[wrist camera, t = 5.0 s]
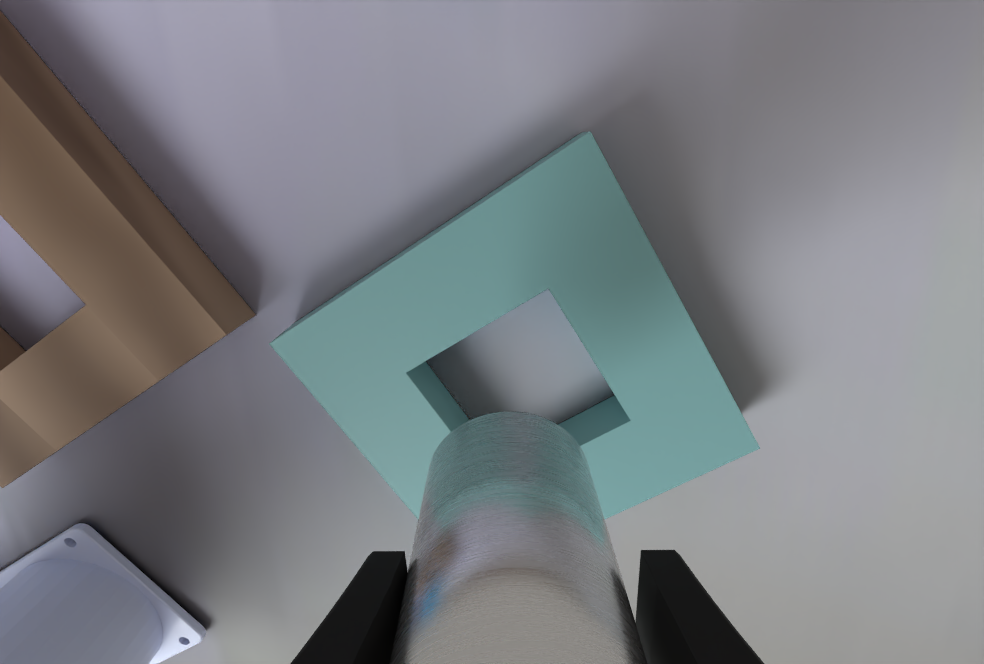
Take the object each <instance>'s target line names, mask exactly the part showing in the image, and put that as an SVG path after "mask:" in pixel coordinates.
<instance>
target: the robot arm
mask: <svg viewBox="0 0 984 664" xmlns="http://www.w3.org/2000/svg"><path fill="white" fill-rule="evenodd" d="M407 574H408V572H407V565H406V558H405V551H373V552H372V553H371V554H370V555H369V556H368V557H367V559H366V560H365V562H364V563H363V565H362V566H361V568H360V569H359V571H358V572H357V574H356V575H355V577H354V578H353V580H352V581H351V582H350V584H349V585H348V587H347V588H346V590H345V591H344V592H343V594H342V595H341V597H340V598H339V600H338V601H337V602H336V604H335V605H334V607H333V608H332V609H331V611H330V612H329V613H328V615H327V616H326V618H325V619H324V620H323V622H322V623H321V624H320V626H319V627H318V628H317V630H316V631H315V632H314V634H313V635H312V636H311V637H310V639H309V640H308V641H307V643H306V644H305V645H304V647H303V648H302V649H301V651H300V652H299V653H298V655H297V656H296V657H295V659H294V660H293V661H292V662H291V664H390V659H391V654H392V649H393V644H394V639H395V634H396V629H397V624H398V619H399V614H400V609H401V604H402V599H403V594H404V589H405V584H406V579H407ZM636 627H637V630H638V634H639V637H640V640H641V644H642V647H643V651H644V654H645V657H646V661H647V664H764V663H763V662H762V660H761V659H760V658H759V657H758V656H757V654H756V653H755V652H754V651H753V650H752V648H751V647H750V646H749V645H748V643H747V642H746V641H745V640H744V639H743V637H742V636H741V635H740V634H739V633H738V631H737V630H736V629H735V628H734V626H733V625H732V624H731V623H730V621H729V620H728V619H727V617H726V616H725V615H724V614H723V612H722V611H721V610H720V608H719V607H718V606H717V605H716V603H715V602H714V601H713V599H712V598H711V597H710V595H709V594H708V593H707V591H706V590H705V589H704V587H703V586H702V585H701V583H700V582H699V581H698V579H697V578H696V577H695V575H694V574H693V573H692V571H691V570H690V568H689V567H688V566H687V564H686V563H685V562H684V560H683V559H682V557H681V556H680V555H679V554H678V553H677V552H676V551H675V550H641V558H640V571H639V584H638V597H637V611H636ZM205 635H206V630H205V628H204V627H203V626H202V625H201V624H200V623H199V622H198V621H197V620H195V619H194V618H193V617H192V616H191V615H190V614H189V613H188V612H186V611H185V610H184V609H183V608H182V607H181V606H180V605H179V604H177V603H176V602H175V601H174V600H173V599H172V598H171V597H170V596H168V595H167V594H166V593H165V592H164V591H163V590H162V589H161V588H159V587H158V586H157V585H156V584H155V583H154V582H153V581H152V580H150V579H149V578H148V577H147V576H146V575H145V574H144V573H143V572H141V571H140V570H139V569H138V568H137V567H136V566H135V565H134V564H132V563H131V562H130V561H129V560H128V559H127V558H126V557H125V556H123V555H122V554H121V553H120V552H119V551H118V550H117V549H116V548H114V547H113V546H112V545H111V544H110V543H109V542H108V541H107V540H106V539H104V538H103V537H102V536H101V535H100V534H99V533H98V532H97V531H95V530H94V529H93V528H92V527H91V526H89V525H87V524H83V523H78V524H76V525H74V526H72V527H71V528H69V529H67V530H66V531H64V532H63V533H61V534H59V535H58V536H56V537H55V538H53V539H51V540H50V541H48V542H47V543H45V544H43V545H42V546H40V547H39V548H37V549H35V550H34V551H32V552H31V553H29V554H27V555H26V556H24V557H23V558H21V559H19V560H18V561H16V562H15V563H13V564H11V565H10V566H8V567H7V568H5V569H3V570H2V571H0V664H158V663H160V662H162V661H164V660H166V659H168V658H170V657H172V656H174V655H176V654H178V653H180V652H182V651H184V650H186V649H188V648H190V647H192V646H194V645H196V644H198V643H200V642H201V641H202V640H203V638H204V636H205Z"/></svg>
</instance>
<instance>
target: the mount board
mask: <svg viewBox="0 0 984 664" xmlns="http://www.w3.org/2000/svg"><path fill="white" fill-rule="evenodd" d="M0 215H1V216H2V217H3V218H4V219H5V220H6V221H7V222H8V223H9V225H10V226H11V227H12V228H13V229H14V230H15V231H16V232H17V233H18V234H19V235H20V236H21V237H22V238H23V239H24V240H25V241H26V242H27V243H28V244H29V246H30V247H31V248H32V249H33V250H34V251H35V252H36V253H37V254H38V255H39V256H40V257H41V258H42V259H43V260H44V261H45V262H46V263H47V264H48V265H49V267H50V268H51V269H52V270H53V271H54V272H55V273H56V274H57V275H58V276H59V277H60V278H61V279H62V280H63V281H64V282H65V283H66V284H67V285H68V286H69V287H70V289H71V290H72V291H73V292H74V293H75V294H76V295H77V296H78V297H79V298H80V299H81V300H82V301H83V302H84V303H85V304H86V305H85V306H84V307H83V308H81V309H80V310H79V311H77V312H76V313H75V314H74V315H72V316H71V317H70V318H68V319H67V320H66V321H65V322H63V323H62V324H61V325H59V326H58V327H57V328H55V329H54V330H53V331H52V332H50V333H49V334H48V335H46V336H45V337H44V338H43V339H41V340H40V341H39V342H37V343H36V344H35V345H33V346H32V347H31V348H30V349H28V350H27V351H25V350H24V349H23V348H22V347H21V346H20V345H19V344H18V343H17V342H16V341H15V340H14V339H13V338H12V337H11V336H9V335H8V334H7V333H6V332H5V331H4V330H3V329H2V328H1V327H0V486H1V487H2V488H3V487H5V486H6V485H8V484H9V483H11V482H12V481H14V480H15V479H17V478H18V477H20V476H21V475H23V474H24V473H26V472H27V471H29V470H30V469H32V468H33V467H35V466H36V465H38V464H39V463H41V462H42V461H43V460H45V459H46V458H48V457H49V456H51V455H52V454H54V453H55V452H57V451H58V450H60V449H61V448H63V447H64V446H65V445H67V444H68V443H70V442H71V441H73V440H74V439H76V438H77V437H79V436H80V435H82V434H83V433H84V432H86V431H87V430H89V429H90V428H92V427H93V426H95V425H96V424H98V423H99V422H101V421H102V420H103V419H105V418H106V417H108V416H109V415H111V414H112V413H114V412H115V411H117V410H118V409H119V408H121V407H122V406H124V405H125V404H127V403H128V402H130V401H131V400H133V399H134V398H136V397H137V396H138V395H140V394H141V393H143V392H144V391H146V390H147V389H149V388H150V387H152V386H153V385H155V384H156V383H157V382H159V381H160V380H162V379H163V378H165V377H166V376H168V375H169V374H171V373H172V372H174V371H175V370H176V369H178V368H179V367H181V366H182V365H184V364H185V363H187V362H188V361H190V360H191V359H193V358H194V357H195V356H197V355H198V354H200V353H201V352H203V351H204V350H206V349H207V348H209V347H210V346H212V345H213V344H214V343H216V342H217V341H219V340H220V339H222V338H223V337H225V336H226V335H228V334H229V333H230V332H232V331H233V330H235V329H236V328H238V327H239V326H241V325H242V324H244V323H245V322H247V321H248V320H249V319H251V318H252V317H254V316H255V315H256V314H255V313H254V312H253V311H252V310H251V308H250V307H249V306H248V305H247V304H246V302H245V301H244V300H243V299H242V298H241V296H240V295H239V294H238V293H237V292H236V290H235V289H234V288H233V287H232V286H231V285H230V283H229V282H228V281H227V280H226V279H225V277H224V276H223V275H222V274H221V273H220V271H219V270H218V269H217V268H216V267H215V265H214V264H213V263H212V262H211V261H210V260H209V258H208V257H207V256H206V255H205V254H204V252H203V251H202V250H201V249H200V248H199V246H198V245H197V244H196V243H195V242H194V240H193V239H192V238H191V237H190V236H189V235H188V233H187V232H186V231H185V230H184V229H183V227H182V226H181V225H180V224H179V223H178V221H177V220H176V219H175V218H174V217H173V216H172V214H171V213H170V212H169V211H168V210H167V208H166V207H165V206H164V205H163V204H162V202H161V201H160V200H159V199H158V198H157V196H156V195H155V194H154V193H153V192H152V191H151V189H150V188H149V187H148V186H147V185H146V183H145V182H144V181H143V180H142V179H141V177H140V176H139V175H138V174H137V173H136V171H135V170H134V169H133V168H132V167H131V166H130V164H129V163H128V162H127V161H126V160H125V158H124V157H123V156H122V155H121V154H120V152H119V151H118V150H117V149H116V148H115V146H114V145H113V144H112V143H111V142H110V141H109V139H108V138H107V137H106V136H105V135H104V133H103V132H102V131H101V130H100V129H99V127H98V126H97V125H96V124H95V123H94V121H93V120H92V119H91V118H90V117H89V116H88V114H87V113H86V112H85V111H84V110H83V108H82V107H81V106H80V105H79V104H78V102H77V101H76V100H75V99H74V98H73V96H72V95H71V94H70V93H69V92H68V91H67V89H66V88H65V87H64V86H63V85H62V83H61V82H60V81H59V80H58V79H57V77H56V76H55V75H54V74H53V73H52V71H51V70H50V69H49V68H48V67H47V66H46V64H45V63H44V62H43V61H42V60H41V58H40V57H39V56H38V55H37V54H36V52H35V51H34V50H33V49H32V48H31V46H30V45H29V44H28V43H27V42H26V41H25V39H24V38H23V37H22V36H21V35H20V33H19V32H18V31H17V30H16V29H15V27H14V26H13V25H12V24H11V23H10V22H9V20H8V19H7V18H6V17H5V16H4V14H3V13H2V12H1V11H0Z"/></svg>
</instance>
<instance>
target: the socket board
mask: <svg viewBox="0 0 984 664" xmlns="http://www.w3.org/2000/svg"><path fill="white" fill-rule="evenodd" d="M546 289H549V290H550V292H551V293H552V295H553V297H554V298H555V300H556V302H557V303H558V305H559V306H560V308H561V310H562V311H563V313H564V314H565V316H566V318H567V319H568V321H569V322H570V324H571V326H572V327H573V329H574V330H575V332H576V334H577V335H578V337H579V338H580V340H581V342H582V343H583V345H584V346H585V348H586V350H587V351H588V353H589V354H590V356H591V358H592V359H593V361H594V363H595V364H596V366H597V367H598V369H599V371H600V372H601V374H602V375H603V377H604V379H605V380H606V382H607V383H608V385H609V387H610V388H611V390H612V391H613V393H614V396H612V397H610V398H608V399H607V400H605V401H603V402H601V403H599V404H597V405H595V406H593V407H591V408H589V409H587V410H585V411H583V412H581V413H579V414H578V415H576V416H574V417H572V418H570V419H568V420H566V421H564V422H562V423H560V424H558V425H559V426H560V427H562V428H563V429H565V430H566V431H567V432H568V433H569V434H570V435H571V436H572V437H573V438H574V439H575V440H576V441H577V442H578V444H579V445H580V447H581V448H582V450H583V452H584V454H585V456H586V459H587V462H588V465H589V469H590V472H591V475H592V479H593V482H594V486H595V489H596V492H597V496H598V499H599V502H600V506H601V509H602V512H603V516H604V519H606V518H609V517H611V516H613V515H615V514H617V513H620V512H622V511H624V510H626V509H628V508H630V507H633V506H635V505H637V504H639V503H641V502H644V501H646V500H648V499H650V498H652V497H655V496H657V495H659V494H661V493H663V492H666V491H668V490H670V489H672V488H674V487H676V486H679V485H681V484H683V483H685V482H687V481H690V480H692V479H694V478H696V477H698V476H701V475H703V474H705V473H707V472H709V471H712V470H714V469H716V468H718V467H720V466H722V465H725V464H727V463H729V462H731V461H733V460H736V459H738V458H740V457H742V456H744V455H747V454H749V453H751V452H753V451H755V450H758V449H760V447H759V445H758V443H757V441H756V440H755V438H754V436H753V434H752V432H751V430H750V428H749V427H748V425H747V423H746V421H745V419H744V417H743V415H742V413H741V412H740V410H739V408H738V406H737V404H736V402H735V400H734V399H733V397H732V395H731V393H730V391H729V389H728V387H727V385H726V384H725V382H724V380H723V378H722V376H721V374H720V372H719V371H718V369H717V367H716V365H715V363H714V361H713V359H712V357H711V356H710V354H709V352H708V350H707V348H706V346H705V344H704V343H703V341H702V339H701V337H700V335H699V333H698V331H697V329H696V328H695V326H694V324H693V322H692V320H691V318H690V316H689V315H688V313H687V311H686V309H685V307H684V305H683V303H682V301H681V300H680V298H679V296H678V294H677V292H676V290H675V288H674V287H673V285H672V283H671V281H670V279H669V277H668V275H667V273H666V272H665V270H664V268H663V266H662V264H661V262H660V260H659V259H658V257H657V255H656V253H655V251H654V249H653V247H652V245H651V244H650V242H649V240H648V238H647V236H646V234H645V232H644V230H643V229H642V227H641V225H640V223H639V221H638V219H637V217H636V216H635V214H634V212H633V210H632V208H631V206H630V204H629V202H628V201H627V199H626V197H625V195H624V193H623V191H622V189H621V188H620V186H619V184H618V182H617V180H616V178H615V176H614V174H613V173H612V171H611V169H610V167H609V165H608V163H607V161H606V160H605V158H604V156H603V154H602V152H601V150H600V148H599V146H598V145H597V143H596V141H595V139H594V137H593V135H592V133H591V132H590V131H589V132H583V133H580V134H579V135H577V136H576V137H574V138H573V139H571V140H570V141H568V142H566V143H565V144H563V145H562V146H560V147H559V148H557V149H556V150H554V151H553V152H551V153H550V154H548V155H547V156H545V157H544V158H542V159H541V160H539V161H538V162H536V163H535V164H533V165H532V166H530V167H529V168H527V169H526V170H524V171H523V172H521V173H520V174H518V175H517V176H515V177H514V178H512V179H511V180H509V181H508V182H506V183H505V184H503V185H502V186H500V187H499V188H497V189H496V190H494V191H493V192H491V193H490V194H488V195H487V196H485V197H484V198H482V199H481V200H479V201H478V202H476V203H475V204H473V205H472V206H470V207H469V208H467V209H466V210H464V211H463V212H461V213H460V214H458V215H456V216H455V217H453V218H452V219H450V220H449V221H447V222H446V223H444V224H443V225H441V226H440V227H438V228H437V229H435V230H434V231H432V232H431V233H429V234H428V235H426V236H425V237H423V238H422V239H420V240H419V241H417V242H416V243H414V244H413V245H411V246H410V247H408V248H407V249H405V250H404V251H402V252H401V253H399V254H398V255H396V256H395V257H393V258H392V259H390V260H389V261H387V262H386V263H384V264H383V265H381V266H380V267H378V268H377V269H375V270H374V271H372V272H371V273H369V274H368V275H366V276H365V277H363V278H362V279H360V280H359V281H357V282H356V283H354V284H353V285H351V286H350V287H348V288H347V289H345V290H343V291H342V292H340V293H339V294H337V295H336V296H334V297H333V298H331V299H330V300H328V301H327V302H325V303H324V304H322V305H321V306H319V307H318V308H316V309H315V310H313V311H312V312H310V313H309V314H307V315H306V316H304V317H303V318H301V319H300V320H298V321H297V322H295V323H294V324H293V325H291V326H290V327H289V328H288V329H287V330H285V331H284V332H283V333H282V334H280V335H279V336H278V337H277V338H276V339H274V340H273V341H272V342H271V343H269V344H270V345H271V347H272V348H273V349H274V350H275V351H276V353H277V354H278V355H279V356H280V357H281V358H282V360H283V361H284V362H285V363H286V364H287V365H288V367H289V368H290V369H291V370H292V371H293V373H294V374H295V375H296V376H297V377H298V378H299V380H300V381H301V382H302V383H303V384H304V386H305V387H306V388H307V389H308V390H309V391H310V393H311V394H312V395H313V396H314V397H315V399H316V400H317V401H318V402H319V403H320V404H321V406H322V407H323V408H324V409H325V410H326V411H327V413H328V414H329V415H330V416H331V417H332V419H333V420H334V421H335V422H336V423H337V424H338V426H339V427H340V428H341V429H342V430H343V432H344V433H345V434H346V435H347V436H348V437H349V439H350V440H351V441H352V442H353V443H354V444H355V446H356V447H357V448H358V449H359V450H360V452H361V453H362V454H363V455H364V456H365V457H366V459H367V460H368V461H369V462H370V463H371V465H372V466H373V467H374V468H375V469H376V470H377V472H378V473H379V474H380V475H381V476H382V477H383V479H384V480H385V481H386V482H387V483H388V485H389V486H390V487H391V488H392V489H393V490H394V492H395V493H396V494H397V495H398V496H399V498H400V499H401V500H402V501H403V502H404V503H405V505H406V506H407V507H408V508H409V509H410V510H411V512H412V513H413V514H414V515H415V516H416V518H417V519H419V514H420V509H421V504H422V499H423V494H424V489H425V484H426V479H427V474H428V469H429V465H430V461H431V459H432V456H433V454H434V452H435V451H436V449H437V447H438V446H439V444H440V443H441V442H442V441H443V439H444V438H445V437H446V436H447V435H448V434H449V433H450V432H451V431H453V430H454V429H456V428H457V427H458V426H460V425H461V424H463V423H465V422H467V421H469V419H468V418H467V416H466V415H465V413H464V412H463V411H462V409H461V408H460V407H459V405H458V404H457V403H456V401H455V400H454V399H453V397H452V396H451V395H450V393H449V392H448V391H447V389H446V388H445V387H444V385H443V384H442V383H441V381H440V380H439V379H438V377H437V376H436V375H435V373H434V372H433V371H432V369H431V368H430V367H429V365H428V364H427V362H426V361H427V360H428V359H430V358H432V357H433V356H435V355H437V354H438V353H440V352H442V351H444V350H445V349H447V348H449V347H450V346H452V345H454V344H455V343H457V342H459V341H460V340H462V339H464V338H465V337H467V336H469V335H471V334H472V333H474V332H476V331H477V330H479V329H481V328H482V327H484V326H486V325H487V324H489V323H491V322H492V321H494V320H496V319H498V318H499V317H501V316H503V315H504V314H506V313H508V312H509V311H511V310H513V309H514V308H516V307H518V306H519V305H521V304H523V303H525V302H526V301H528V300H530V299H531V298H533V297H535V296H536V295H538V294H540V293H541V292H543V291H545V290H546Z"/></svg>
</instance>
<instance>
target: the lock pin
mask: <svg viewBox="0 0 984 664" xmlns="http://www.w3.org/2000/svg"><path fill="white" fill-rule="evenodd" d="M390 664H647V661H646V657H645V654H644V651H643V647H642V644H641V640H640V637H639V634H638V630H637V627H636V624H635V620H634V617H633V613H632V610H631V607H630V603H629V600H628V597H627V593H626V590H625V587H624V583H623V580H622V576H621V573H620V570H619V566H618V563H617V560H616V556H615V553H614V550H613V546H612V543H611V539H610V536H609V533H608V529H607V526H606V523H605V519H604V516H603V512H602V509H601V506H600V502H599V499H598V496H597V492H596V489H595V486H594V482H593V479H592V475H591V472H590V469H589V465H588V462H587V459H586V456H585V454H584V452H583V450H582V448H581V447H580V445H579V444H578V442H577V441H576V440H575V439H574V438H573V437H572V436H571V435H570V434H569V433H568V432H567V431H566V430H565V429H563V428H562V427H560V426H559V425H557V424H556V423H554V422H552V421H550V420H548V419H546V418H543V417H540V416H537V415H533V414H529V413H524V412H496V413H490V414H486V415H482V416H479V417H476V418H474V419H471V420H469V421H467V422H465V423H463V424H461V425H460V426H458V427H457V428H456V429H454V430H453V431H451V432H450V433H449V434H448V435H447V436H446V437H445V438H444V439H443V441H442V442H441V443H440V444H439V446H438V447H437V449H436V451H435V452H434V454H433V456H432V459H431V461H430V465H429V469H428V474H427V479H426V484H425V489H424V494H423V499H422V504H421V509H420V514H419V519H418V524H417V529H416V534H415V539H414V544H413V549H412V554H411V559H410V564H409V569H408V574H407V579H406V584H405V589H404V594H403V599H402V604H401V609H400V614H399V619H398V624H397V629H396V634H395V639H394V644H393V649H392V654H391V659H390Z"/></svg>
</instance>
